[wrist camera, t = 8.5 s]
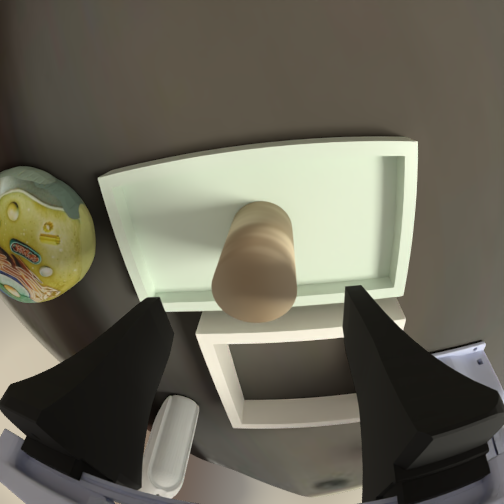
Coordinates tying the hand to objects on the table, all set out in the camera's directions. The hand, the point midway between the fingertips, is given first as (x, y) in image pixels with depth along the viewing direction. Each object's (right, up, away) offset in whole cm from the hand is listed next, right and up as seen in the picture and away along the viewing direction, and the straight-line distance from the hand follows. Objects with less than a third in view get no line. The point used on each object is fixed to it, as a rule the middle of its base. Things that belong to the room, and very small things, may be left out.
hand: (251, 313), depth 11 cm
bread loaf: (+1, +4, +6) cm, 7 cm away
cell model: (-17, +4, +9) cm, 20 cm away
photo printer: (-9, -17, +20) cm, 28 cm away
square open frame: (+4, -7, +13) cm, 15 cm away
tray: (+1, +4, +7) cm, 8 cm away
